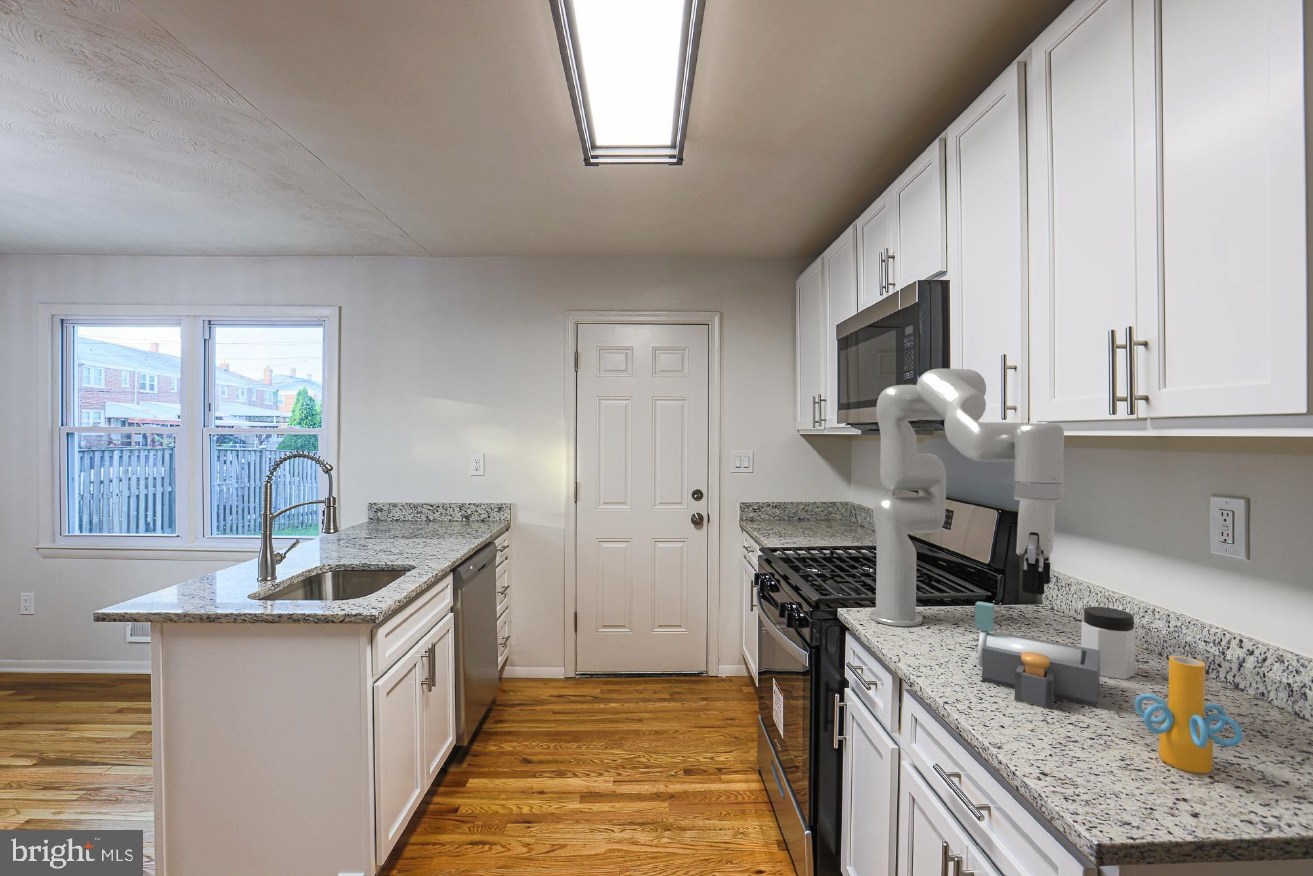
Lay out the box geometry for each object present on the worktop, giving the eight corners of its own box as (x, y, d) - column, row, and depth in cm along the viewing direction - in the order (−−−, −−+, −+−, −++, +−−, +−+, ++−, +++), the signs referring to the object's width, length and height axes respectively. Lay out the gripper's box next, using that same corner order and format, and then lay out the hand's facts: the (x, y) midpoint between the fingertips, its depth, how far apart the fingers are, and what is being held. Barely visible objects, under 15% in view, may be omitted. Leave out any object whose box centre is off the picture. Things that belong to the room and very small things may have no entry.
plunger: (1022, 686, 114) (1022, 650, 114) (1050, 692, 111) (1051, 655, 111) (1019, 694, 111) (1019, 657, 111) (1047, 701, 108) (1048, 663, 108)
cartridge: (979, 659, 128) (979, 598, 128) (1081, 680, 117) (1082, 614, 117) (971, 669, 122) (972, 606, 122) (1079, 693, 112) (1080, 624, 112)
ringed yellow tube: (1251, 771, 88) (1253, 666, 88) (1231, 795, 82) (1233, 683, 82) (1146, 736, 98) (1148, 642, 98) (1121, 755, 92) (1123, 655, 92)
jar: (1122, 683, 119) (1123, 621, 119) (1074, 669, 126) (1075, 610, 125) (1140, 673, 124) (1141, 613, 124) (1094, 660, 130) (1095, 604, 130)
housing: (993, 662, 129) (994, 631, 129) (1099, 684, 118) (1100, 650, 118) (976, 691, 114) (976, 656, 114) (1095, 719, 103) (1096, 681, 103)
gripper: (1020, 487, 120) (1019, 576, 120) (1006, 494, 106) (1005, 594, 106) (1067, 490, 115) (1065, 582, 115) (1058, 497, 101) (1056, 602, 102)
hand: (1036, 587), depth 111 cm, fingers open, 9 cm apart
